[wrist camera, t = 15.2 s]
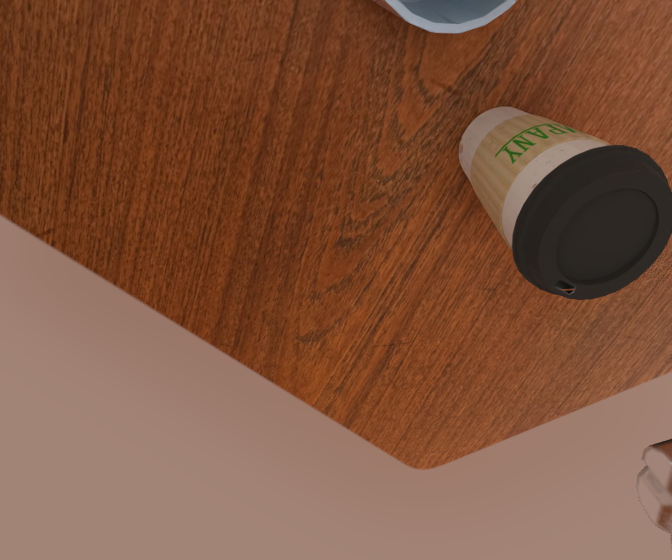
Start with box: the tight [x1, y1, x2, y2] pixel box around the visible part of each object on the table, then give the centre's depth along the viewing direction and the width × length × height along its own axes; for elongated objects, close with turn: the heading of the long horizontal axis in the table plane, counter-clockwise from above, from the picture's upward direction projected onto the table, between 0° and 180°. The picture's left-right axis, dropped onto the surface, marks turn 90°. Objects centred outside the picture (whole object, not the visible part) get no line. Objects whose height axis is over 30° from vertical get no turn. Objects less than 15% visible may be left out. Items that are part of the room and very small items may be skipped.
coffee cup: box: [459, 106, 672, 300], centre depth 41 cm, size 10×10×15 cm
